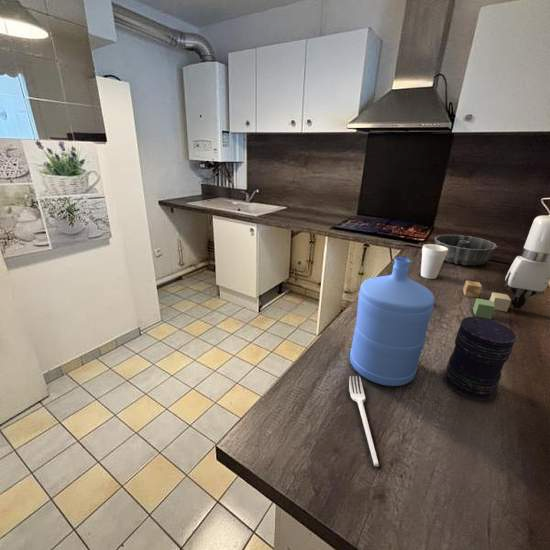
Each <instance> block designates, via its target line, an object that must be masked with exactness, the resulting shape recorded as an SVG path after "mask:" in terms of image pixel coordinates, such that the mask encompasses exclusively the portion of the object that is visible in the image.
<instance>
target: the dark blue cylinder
mask: <svg viewBox="0 0 550 550" xmlns="http://www.w3.org/2000/svg"><path fill="white" fill-rule="evenodd" d="M516 340H517V335H516V333H515V332H514V331H513V329H511V328H510V327H508V326H507V325H505V324H503V323H501V322H498V321H496V320H493V319H488V318H483V317H478V316H467V317H464V318H462V319H461V321H460V326H459V328H458V330H457V333H456V337H455V338H454V348H453V351H452V353H451V354H450V355H449V358H448V362H447V364H446V371H445V373H444V380H445V382H446V383H447V384H448V386H449V387H450V388H451V389H452V390H454V391H455V392H457V393H458V394H460V395H462V396H465V397H467V398H471V399H474V400H481V401H482V400H484V401H485V400H488V399H491V398H492V397H493V396H494V393H495V390H496V388H497V387H498V386H499V383H500V380H501V378H502V370H503V367H504V365H505V363H507V361H508V360H509V358H510V355H511V354H512V353H511V352H512V351H513V346H514V343H515V341H516Z"/></svg>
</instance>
